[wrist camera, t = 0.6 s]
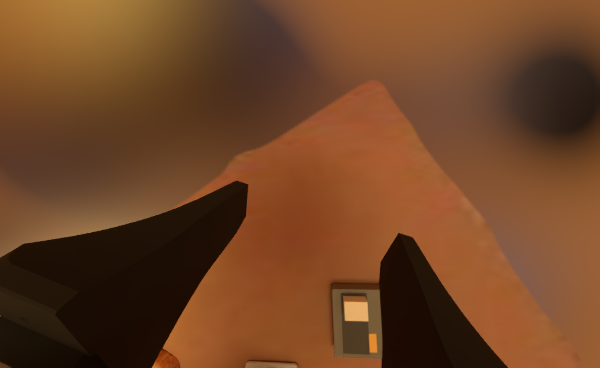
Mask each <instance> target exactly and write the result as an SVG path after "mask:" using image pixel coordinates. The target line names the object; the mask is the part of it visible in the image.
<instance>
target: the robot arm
mask: <svg viewBox="0 0 600 368" xmlns="http://www.w3.org/2000/svg"><path fill="white" fill-rule="evenodd" d="M247 193H248V184H245V183H242V182H239V181H235V182H233V183H230V184H228V185H226V186H224V187H222V188H220V189H218V190H216V191H214V192H212V193H210V194H208V195H206V196H203V197H201V198H199V199H197V200H195V201H192V202H190V203H187V204H185V205H183V206H180V207H178V208H176V209H173V210H170V211H168V212H165V213H162V214H159V215H156V216H153V217H150V218H147V219H143V220H140V221H136V222H133V223H129V224H125V225H121V226H118V227H114V228H110V229H106V230H101V231H97V232H91V233H86V234H82V235H77V236H71V237H65V238H59V239H52V240H46V241H40V242H33V243H26V244H23V245H21V246H19V247H18V248H16V249H14V250H13V251H11V252H9V253H7V254H6V255H4V256H2V257H1V258H0V316H1V317H0V368H152V367H153V365H154V363H155V361H156V359H157V357H158V355H159V353H160V352H161V350H162V348H163V346H164V344H165V342H166V340H167V339H168V337H169V335H170V333H171V331H172V330H173V328H174V326H175V324H176V322H177V321H178V319H179V317H180V315H181V314H182V312H183V310H184V309H185V307H186V305H187V303H188V302H189V300H190V298H191V297H192V295H193V293H194V292H195V290H196V289H197V287H198V285H199V284H200V282H201V280H202V279H203V277H204V276H205V274H206V273H207V271H208V270H209V269H210V267H211V266H212V265H213V263H214V262H215V261H216V259H217V258H218V257H219V255H220V254H221V253H222V251H223V250H224V249H225V247H226V246H227V245H228V243H229V242H230V241H231V239H232V238H233V237H234V235H235V234H236V232H237V231H238V229H239V227H240V226H241V224H242V222H243V220H244V218H245V217H246V207H247ZM379 289H380V307H381V324H382V368H508V367H507V366H506V365H505V364H504V363H503V362H502V361H501V359H500V358H499V357H498V356H497V355H496V354H495V353H494V351H493V350H492V349H491V348H490V347H489V346H488V344H487V343H486V342H485V341H484V340H483V338H482V337H481V336H480V335H479V333H478V332H477V331H476V330H475V328H474V327H473V326H472V325H471V323H470V322H469V321H468V320H467V318H466V317H465V316H464V314H463V313H462V312H461V310H460V309H459V308H458V306H457V305H456V303H455V302H454V301H453V299H452V298H451V296H450V295H449V293H448V292H447V291H446V289H445V288H444V286H443V285H442V283H441V282H440V280H439V279H438V277H437V275H436V274H435V272H434V271H433V269H432V268H431V266H430V264H429V263H428V261H427V260H426V258H425V256H424V255H423V253H422V251H421V250H420V248H419V246H418V245H417V243H416V242H415V240H414V239H413V237H410V236H407V235H403V234H400V233H398V235H397V237H396V238H395V240H394V241H393V243H392V245H391V246H390V248H389V249H388V251H387V253H386V254H385V256H384V257H383V259H382V261H381V266H380V279H379ZM246 368H298V365H297V364H296V363H281V362H260V361H248V362H247V363H246Z"/></svg>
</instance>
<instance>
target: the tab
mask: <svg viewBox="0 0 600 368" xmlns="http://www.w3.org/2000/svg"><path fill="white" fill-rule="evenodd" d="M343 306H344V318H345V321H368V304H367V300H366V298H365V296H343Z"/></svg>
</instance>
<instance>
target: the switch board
mask: <svg viewBox="0 0 600 368" xmlns="http://www.w3.org/2000/svg"><path fill="white" fill-rule="evenodd" d="M343 296H365V298H366V300H367V304H368V321H345V318H344V306H343ZM332 308H333V334H334V355H335V357H355V358H378V359H382V324H381V307H380V289H379V284H332Z"/></svg>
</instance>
